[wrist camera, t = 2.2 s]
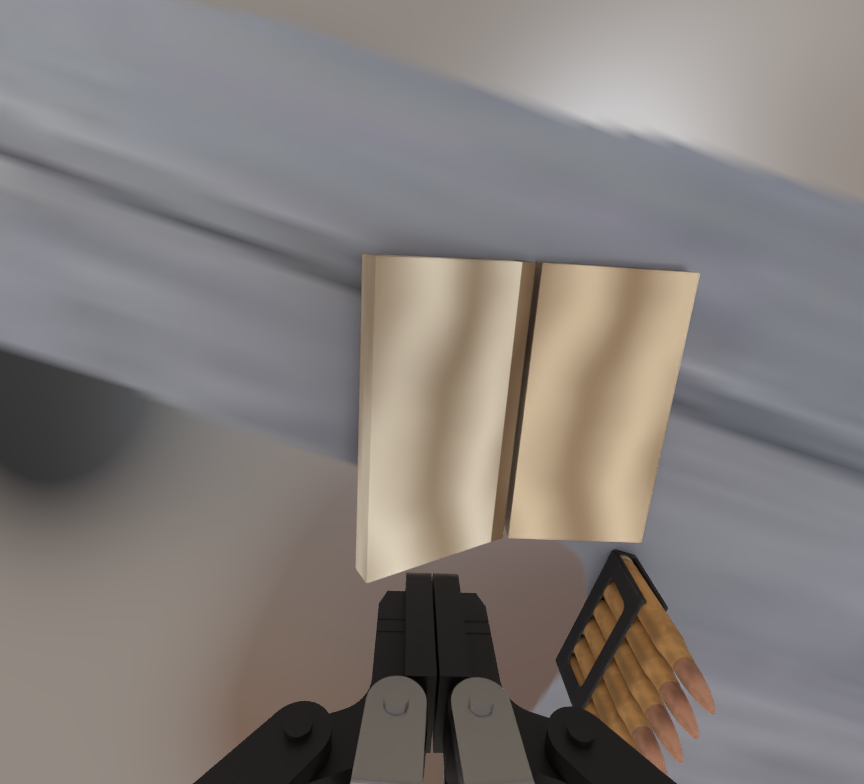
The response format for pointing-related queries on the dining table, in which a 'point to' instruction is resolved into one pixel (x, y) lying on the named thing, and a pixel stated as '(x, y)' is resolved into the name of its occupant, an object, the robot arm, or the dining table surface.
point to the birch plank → (436, 405)
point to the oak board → (595, 399)
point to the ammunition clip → (632, 662)
